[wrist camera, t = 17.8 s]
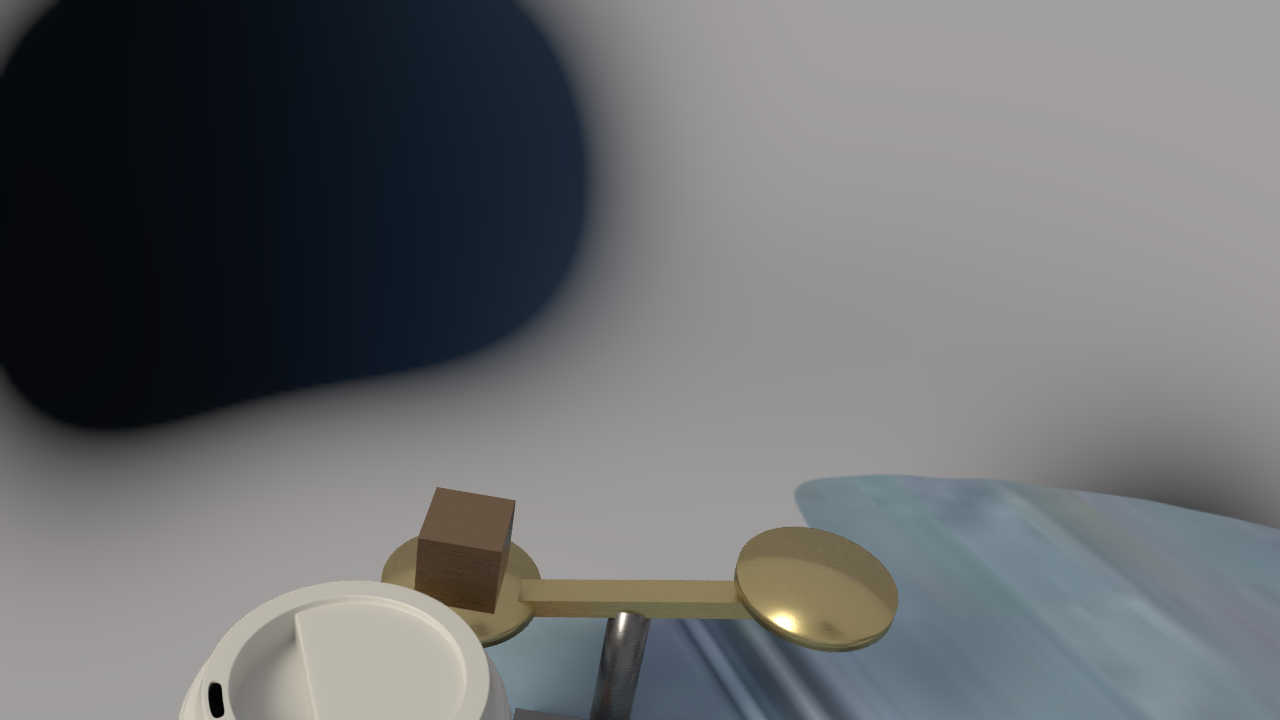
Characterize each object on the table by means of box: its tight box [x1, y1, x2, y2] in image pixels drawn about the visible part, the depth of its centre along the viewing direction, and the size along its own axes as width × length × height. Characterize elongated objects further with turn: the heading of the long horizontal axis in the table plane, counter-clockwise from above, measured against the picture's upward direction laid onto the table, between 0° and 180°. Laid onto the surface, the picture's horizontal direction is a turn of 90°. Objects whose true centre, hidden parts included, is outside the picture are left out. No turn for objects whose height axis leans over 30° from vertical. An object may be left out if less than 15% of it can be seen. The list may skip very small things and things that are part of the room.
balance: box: [381, 487, 898, 720], centre depth 47 cm, size 19×6×14 cm, turn 85°
